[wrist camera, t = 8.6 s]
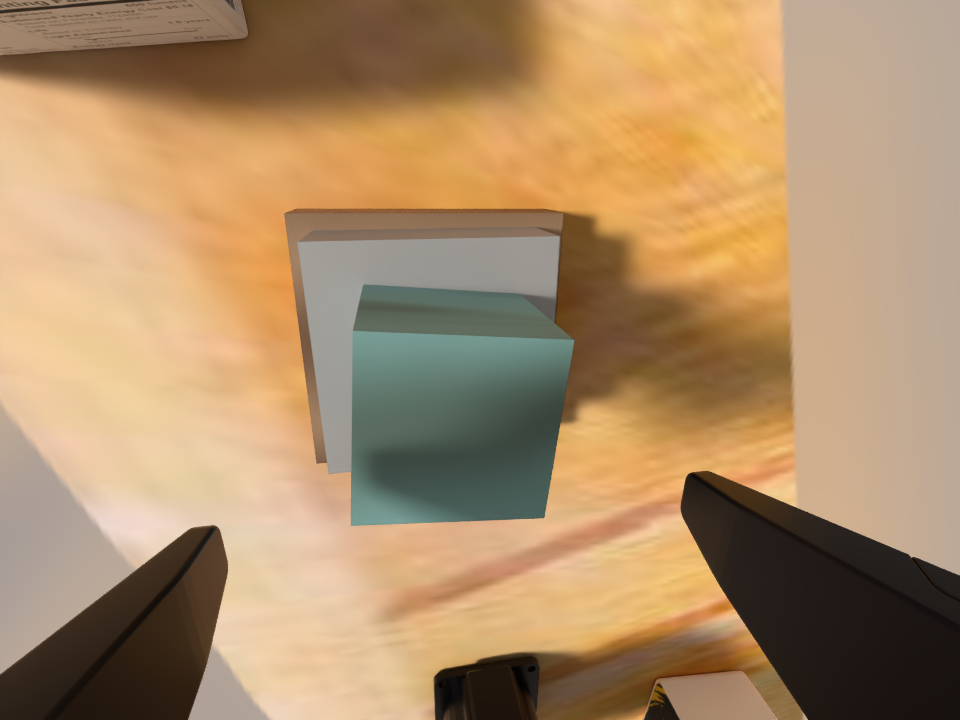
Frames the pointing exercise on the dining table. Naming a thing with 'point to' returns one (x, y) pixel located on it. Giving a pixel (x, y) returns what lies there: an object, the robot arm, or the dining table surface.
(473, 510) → the teal block
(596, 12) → the dining table surface
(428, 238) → the grey slab
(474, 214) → the walnut slab
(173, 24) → the light bulb box
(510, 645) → the dining table surface
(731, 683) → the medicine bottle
